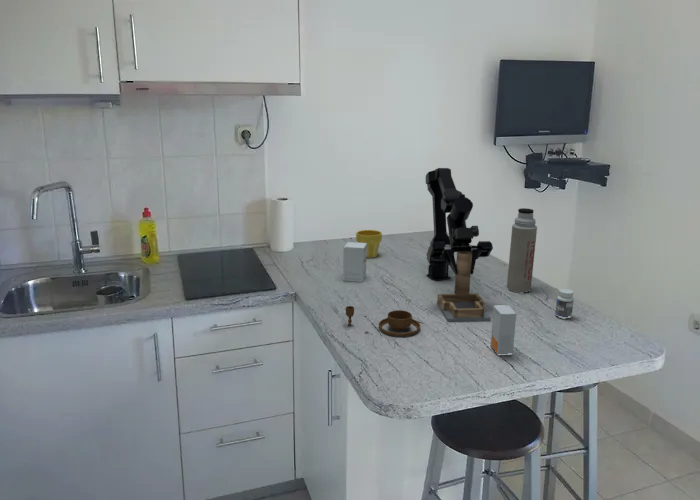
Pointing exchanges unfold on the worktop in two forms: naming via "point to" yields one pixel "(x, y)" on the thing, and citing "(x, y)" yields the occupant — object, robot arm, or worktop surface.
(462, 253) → the walnut peg
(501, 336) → the skincare box
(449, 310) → the keyhole plate
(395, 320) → the place setting
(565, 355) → the worktop surface
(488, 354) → the worktop surface
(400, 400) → the worktop surface
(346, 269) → the supplement box
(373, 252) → the plant pot
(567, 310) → the pill bottle
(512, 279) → the thermos bottle
